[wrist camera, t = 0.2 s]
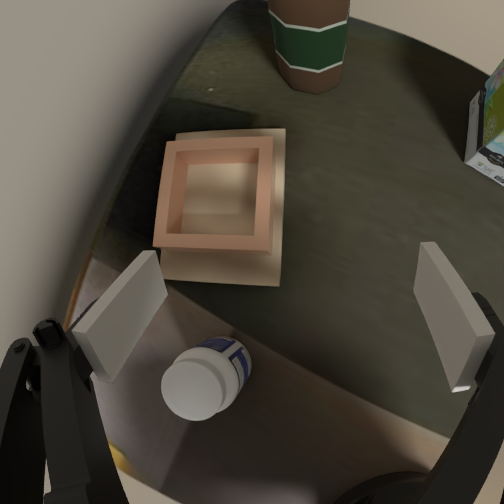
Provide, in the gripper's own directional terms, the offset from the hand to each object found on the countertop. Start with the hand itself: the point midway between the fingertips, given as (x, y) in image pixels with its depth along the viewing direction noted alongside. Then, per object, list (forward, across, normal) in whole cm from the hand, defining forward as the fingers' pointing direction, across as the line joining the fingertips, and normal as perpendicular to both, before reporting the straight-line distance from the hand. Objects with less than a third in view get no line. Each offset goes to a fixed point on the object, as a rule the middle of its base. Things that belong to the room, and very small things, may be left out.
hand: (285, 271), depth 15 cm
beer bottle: (+27, -3, -11) cm, 29 cm away
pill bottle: (+8, +8, +15) cm, 19 cm away
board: (+17, +7, +2) cm, 19 cm away
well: (+16, +7, +1) cm, 18 cm away
